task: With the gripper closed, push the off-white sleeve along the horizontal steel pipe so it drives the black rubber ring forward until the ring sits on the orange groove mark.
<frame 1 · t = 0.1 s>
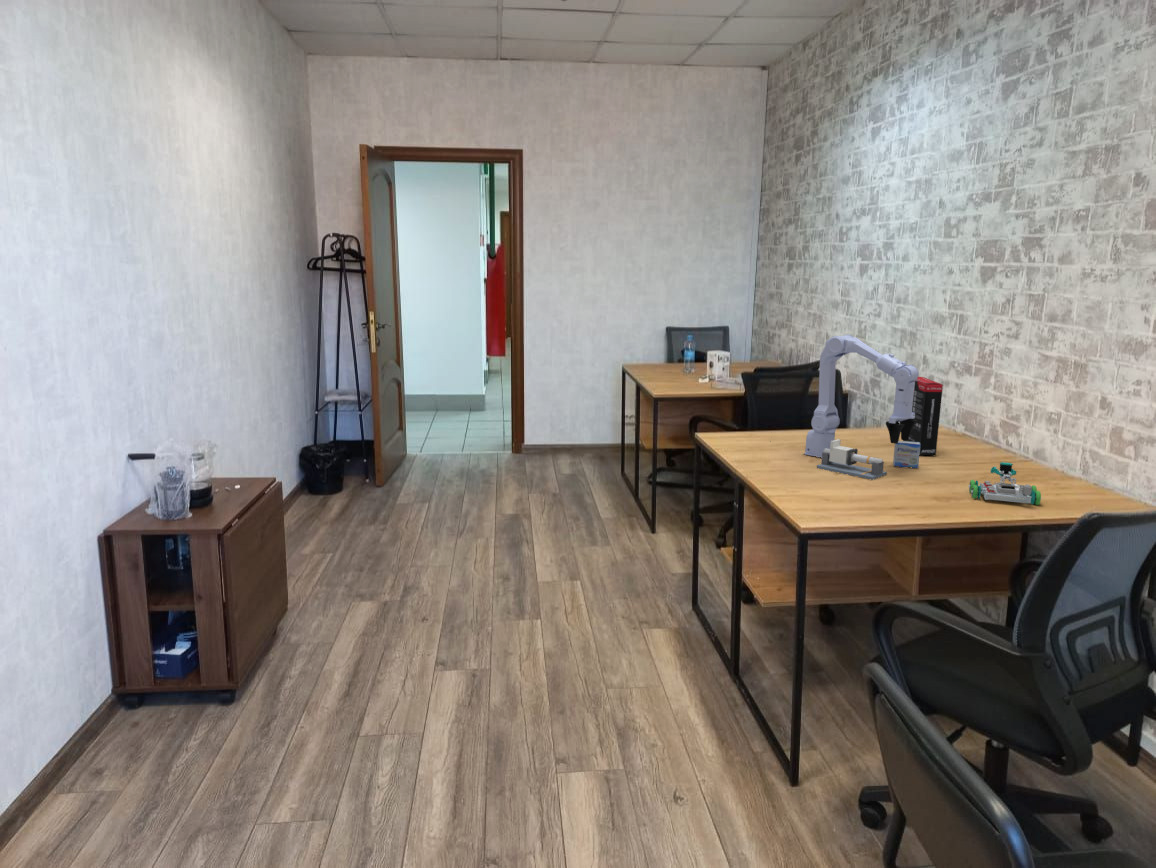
hand: (899, 441, 266), 10 cm above the table, tool pointing down, fingers open, 7 cm apart
medicine box: (905, 467, 274), on the table
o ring: (852, 457, 266), point 5 cm above the table, slide at 0.0 cm
sleeve: (841, 451, 268), point 6 cm above the table, slide at 0.0 cm
graphics card box: (918, 452, 297), on the table
pipe stand: (851, 471, 267), on the table
robot kit: (1000, 495, 242), on the table
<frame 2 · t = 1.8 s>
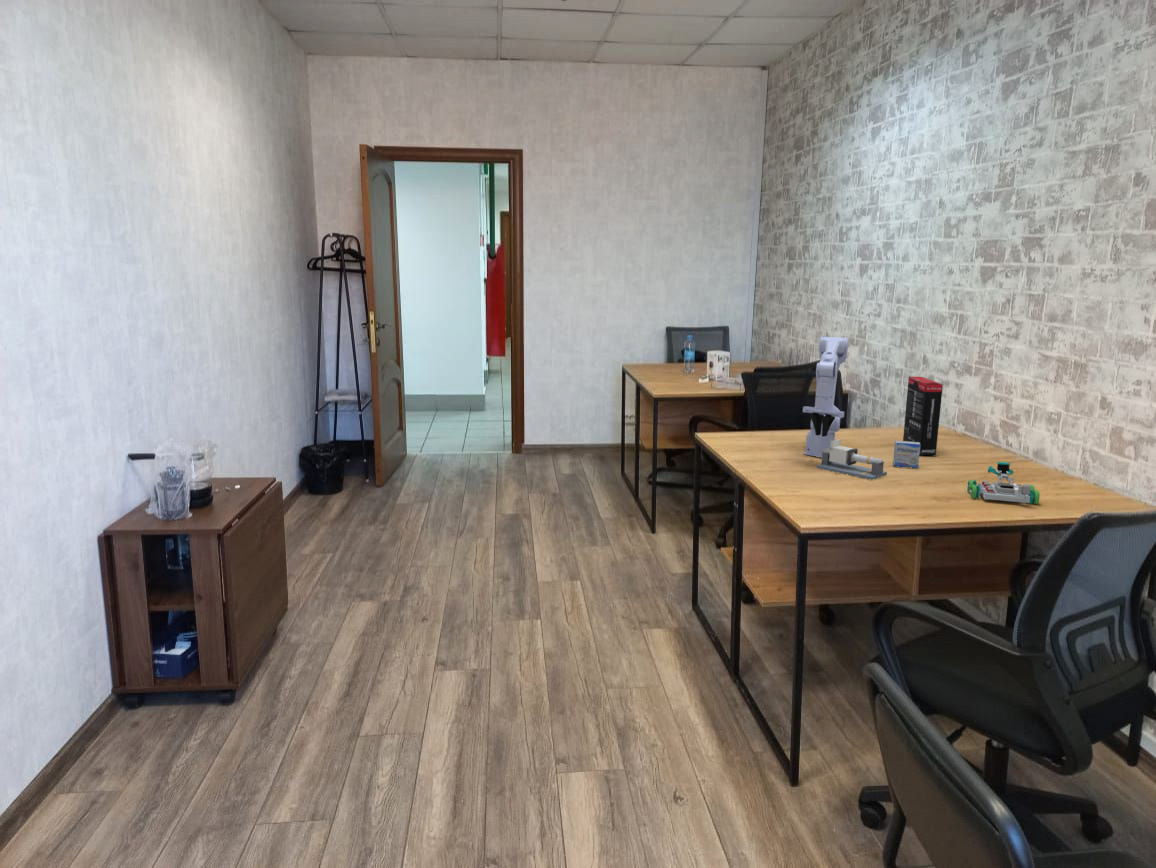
hand: (821, 435, 273), 10 cm above the table, tool pointing down, fingers closed
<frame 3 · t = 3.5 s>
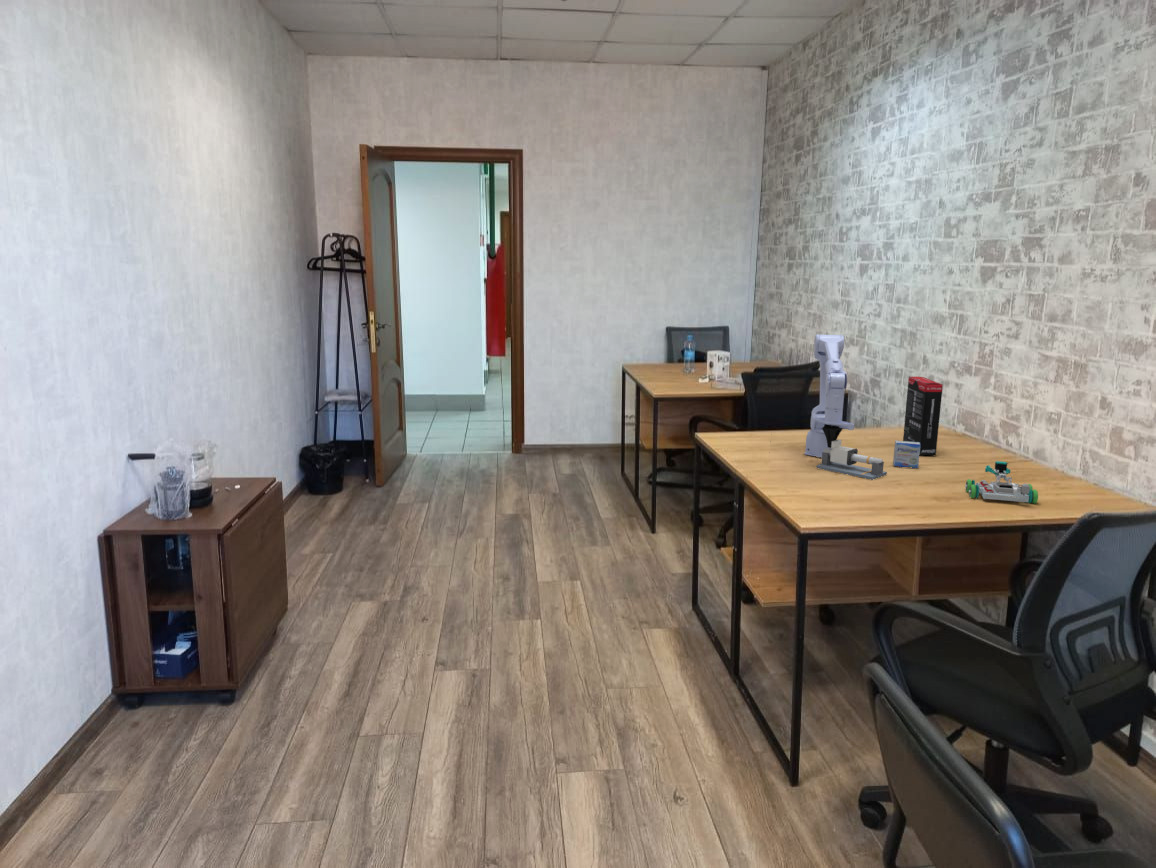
hand: (830, 447, 271), 7 cm above the table, tool pointing down, fingers closed
sleeve: (842, 451, 268), point 6 cm above the table, slide at 0.3 cm, touching gripper
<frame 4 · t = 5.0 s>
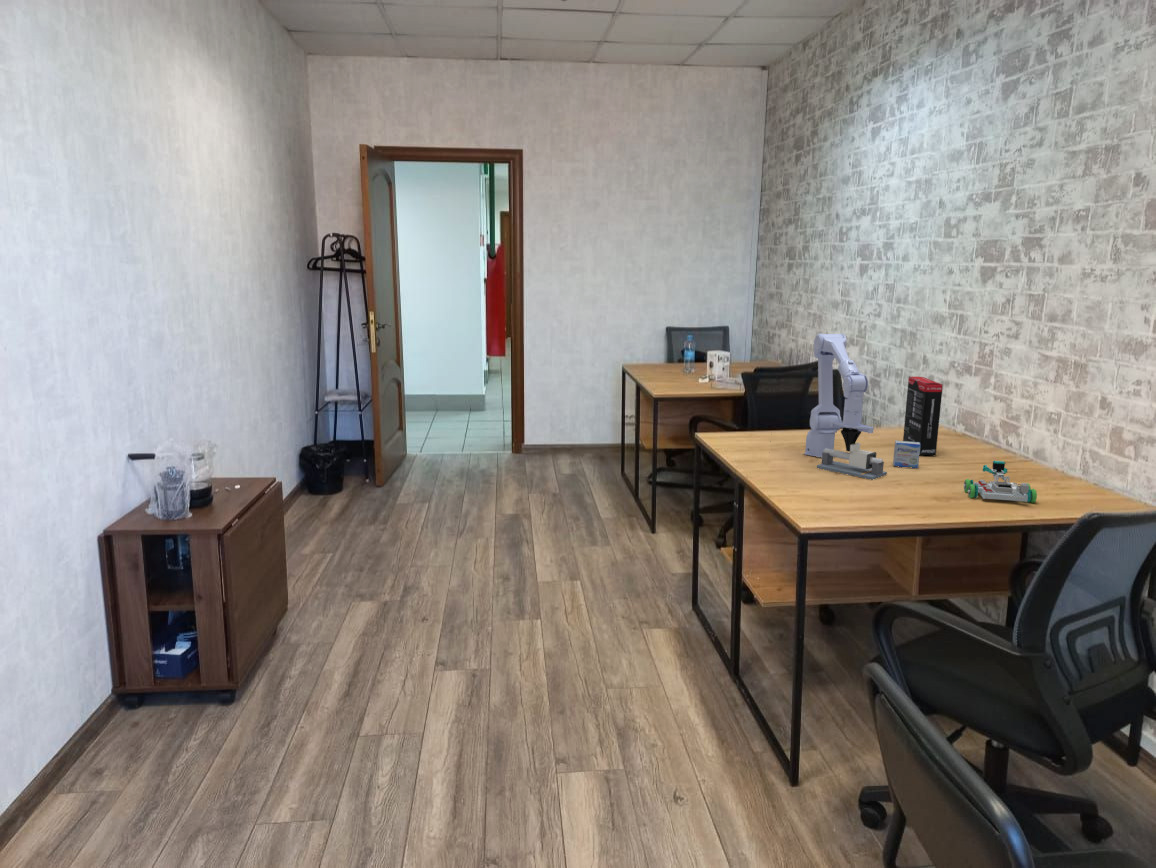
hand: (849, 450, 266), 7 cm above the table, tool pointing down, fingers closed
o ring: (871, 460, 261), point 5 cm above the table, slide at 6.7 cm, touching sleeve
sleeve: (861, 455, 263), point 6 cm above the table, slide at 7.2 cm, touching gripper, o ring
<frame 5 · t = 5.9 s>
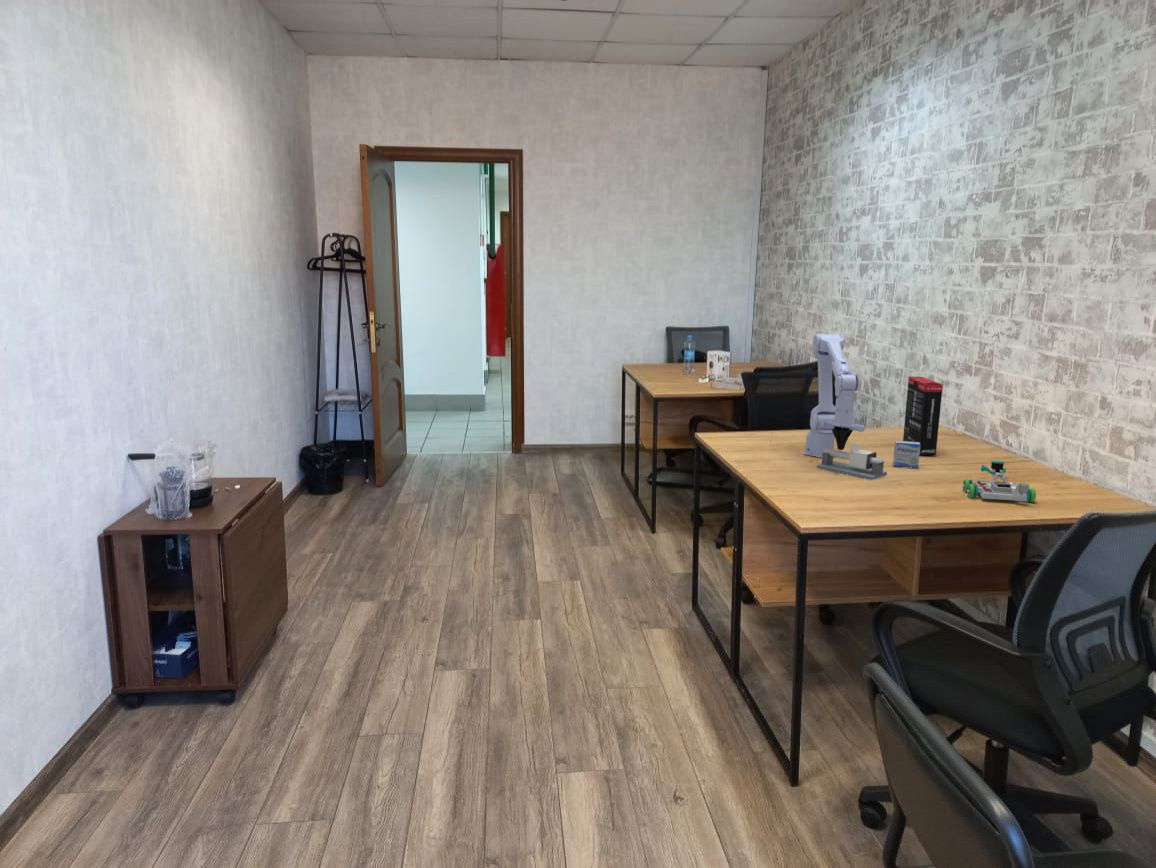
hand: (840, 449, 268), 7 cm above the table, tool pointing down, fingers closed
sleeve: (861, 455, 263), point 6 cm above the table, slide at 7.2 cm, touching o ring
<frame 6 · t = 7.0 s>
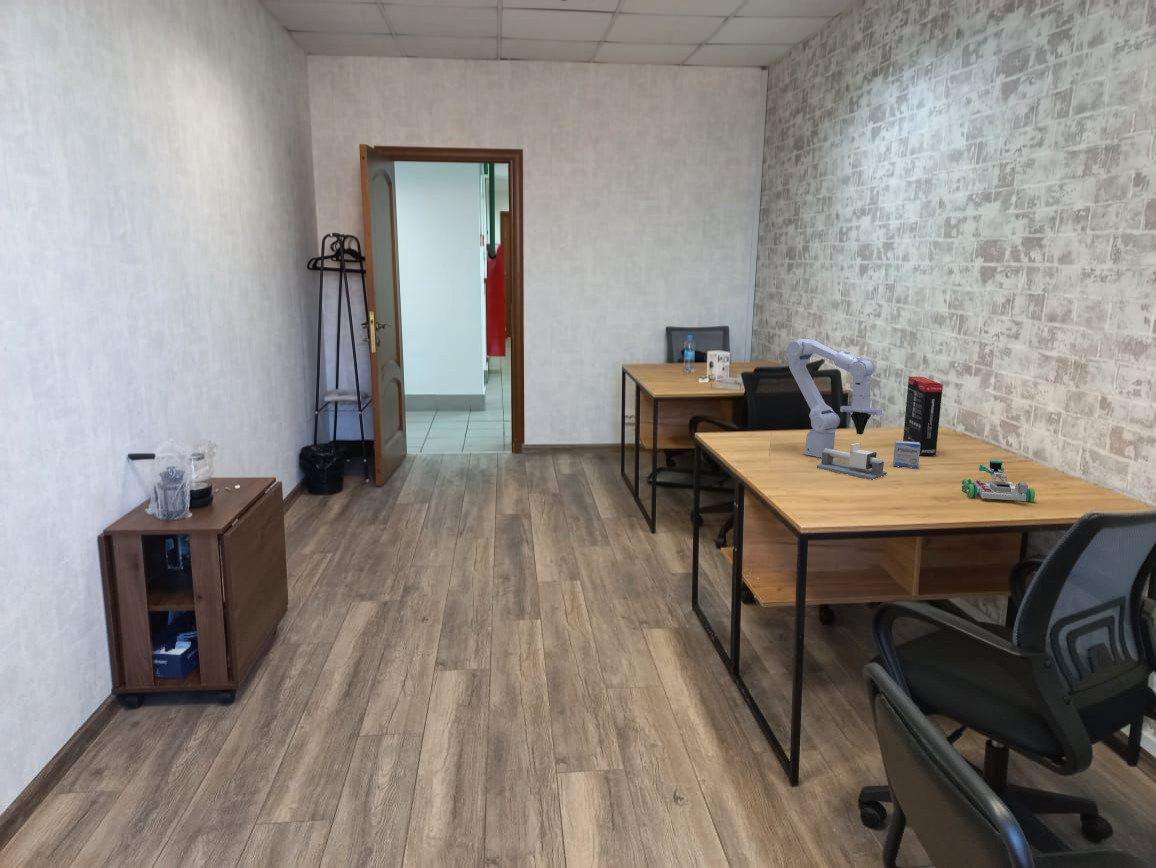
hand: (859, 434, 276), 10 cm above the table, tool pointing down, fingers closed
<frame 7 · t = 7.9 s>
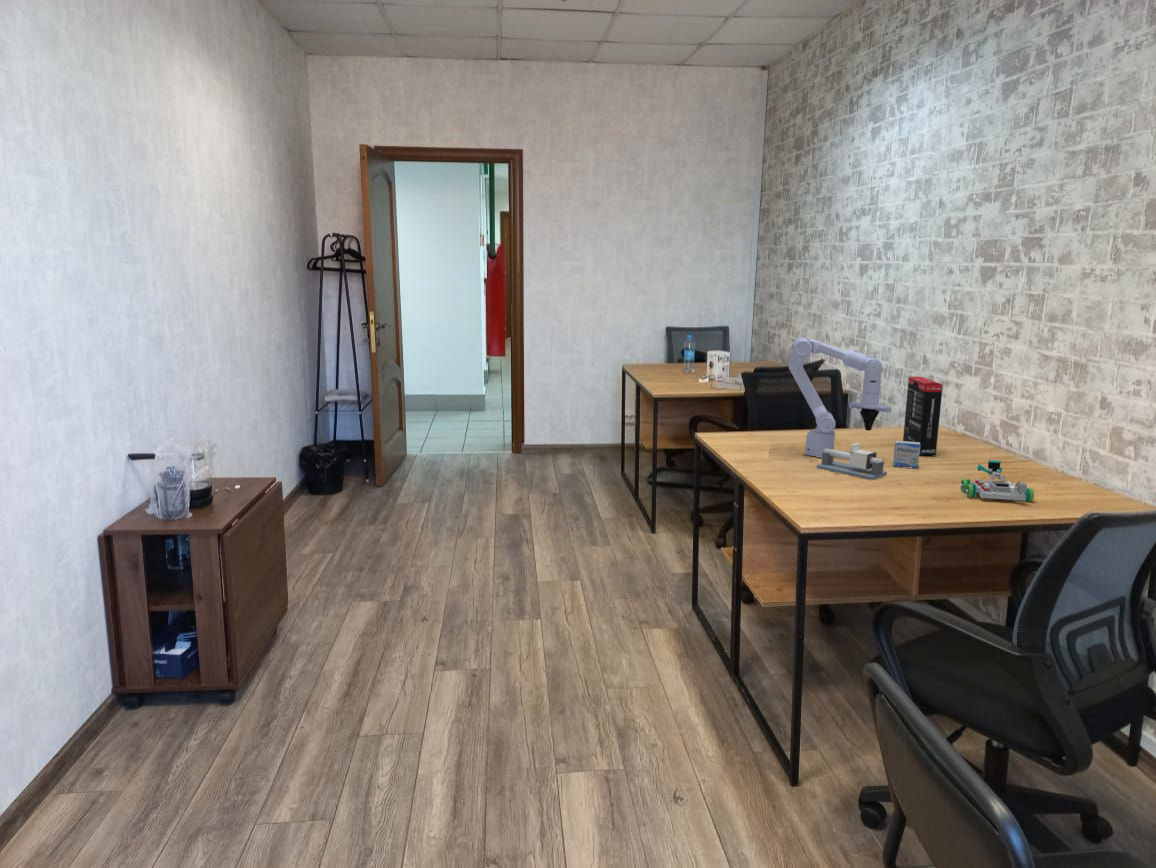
hand: (868, 430, 283), 10 cm above the table, tool pointing down, fingers closed
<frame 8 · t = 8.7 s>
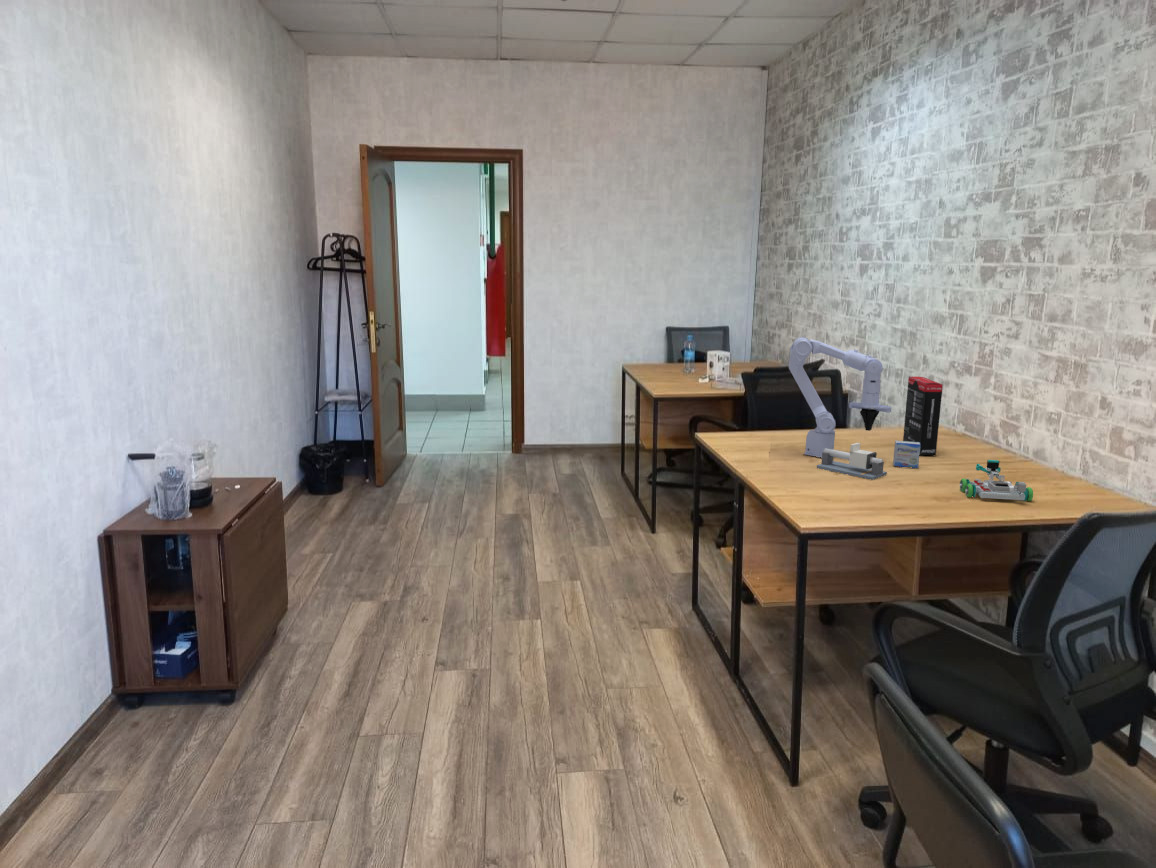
hand: (868, 430, 283), 10 cm above the table, tool pointing down, fingers closed
at the end: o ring slide at 6.7 cm; sleeve slide at 7.2 cm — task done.
